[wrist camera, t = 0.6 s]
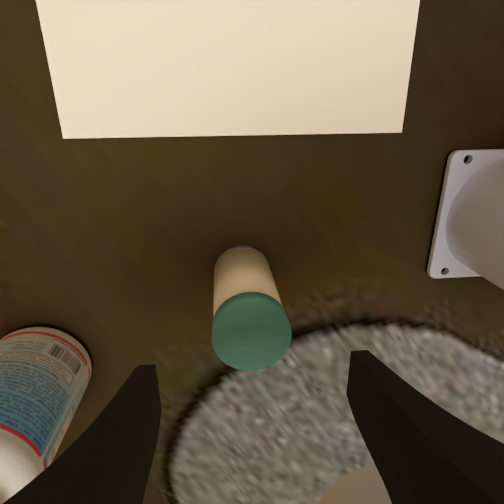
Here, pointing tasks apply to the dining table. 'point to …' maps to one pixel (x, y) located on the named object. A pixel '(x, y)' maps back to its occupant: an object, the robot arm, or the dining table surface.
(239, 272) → the green lidded jar
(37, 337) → the pill bottle
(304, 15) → the paper
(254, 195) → the dining table surface
